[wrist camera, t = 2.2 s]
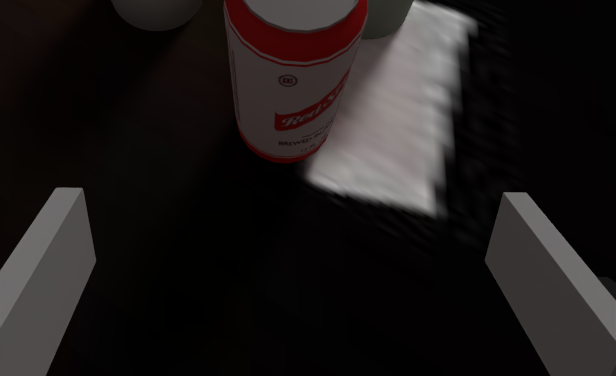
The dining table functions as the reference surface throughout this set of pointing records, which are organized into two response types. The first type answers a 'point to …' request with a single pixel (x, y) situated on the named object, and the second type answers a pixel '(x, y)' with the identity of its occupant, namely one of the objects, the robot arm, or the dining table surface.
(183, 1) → the off-white tin
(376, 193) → the dining table surface
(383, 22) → the sage tin
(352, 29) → the beer can
